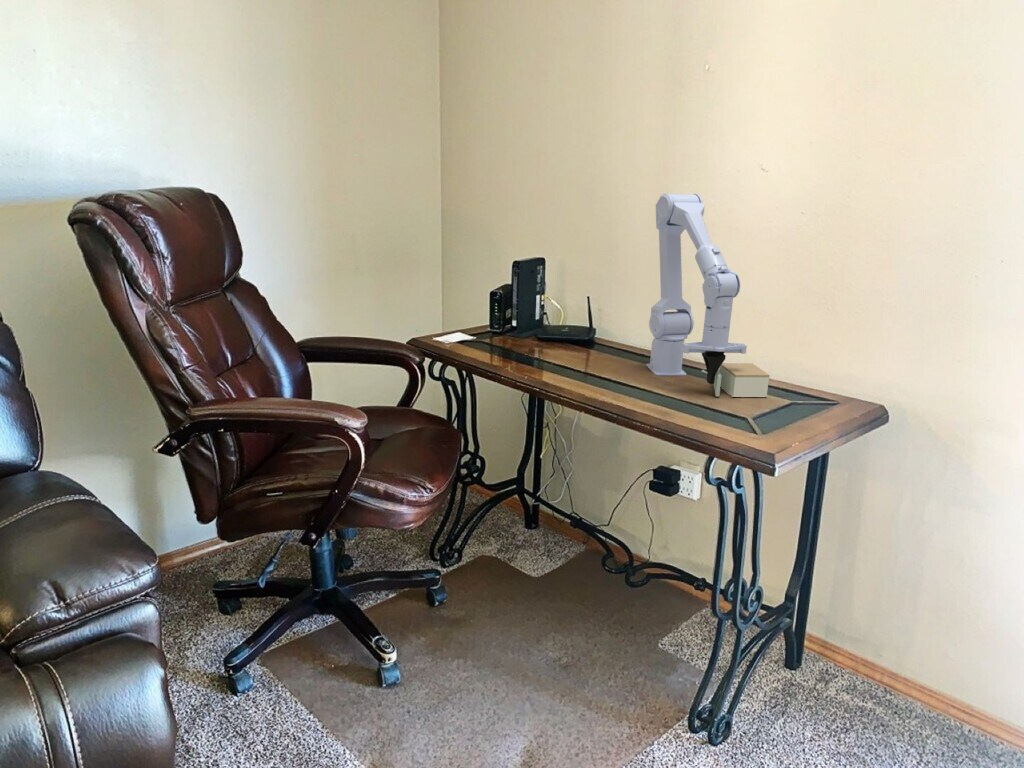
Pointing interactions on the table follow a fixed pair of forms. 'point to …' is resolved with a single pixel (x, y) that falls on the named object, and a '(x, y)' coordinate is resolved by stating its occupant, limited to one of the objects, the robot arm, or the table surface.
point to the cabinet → (744, 380)
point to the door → (717, 383)
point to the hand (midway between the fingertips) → (710, 382)
